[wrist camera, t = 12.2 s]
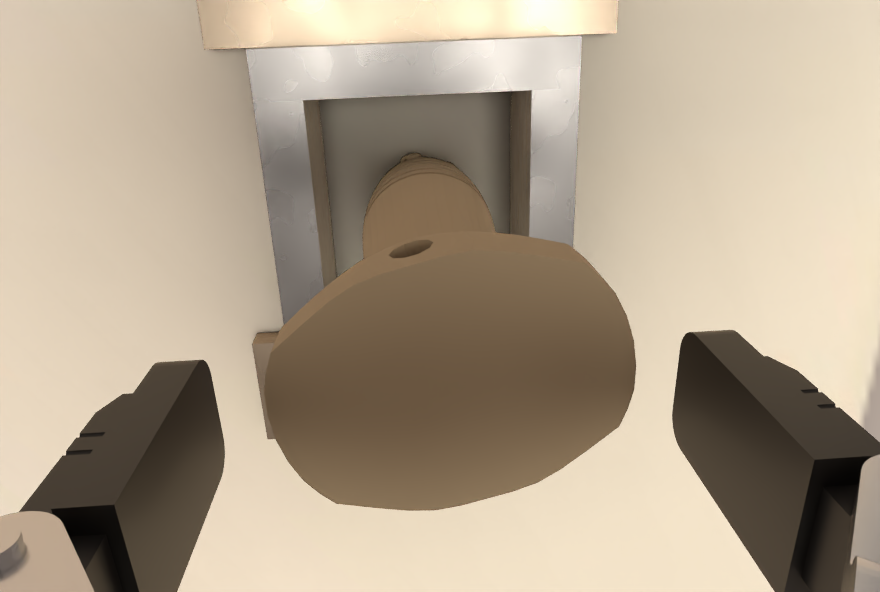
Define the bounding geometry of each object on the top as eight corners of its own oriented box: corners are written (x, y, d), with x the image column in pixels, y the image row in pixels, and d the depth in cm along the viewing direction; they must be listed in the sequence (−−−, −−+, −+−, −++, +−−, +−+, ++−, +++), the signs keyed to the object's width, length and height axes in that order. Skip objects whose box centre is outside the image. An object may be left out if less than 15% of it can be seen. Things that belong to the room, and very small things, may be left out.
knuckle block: (188, -100, 21) (144, -129, 17) (615, -113, 22) (661, -143, 18) (271, 426, 29) (253, 484, 25) (586, 405, 29) (614, 459, 26)
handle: (516, 227, 26) (655, 452, 12) (361, 271, 26) (323, 542, 12) (486, 106, 24) (608, 207, 10) (321, 155, 24) (220, 320, 10)
